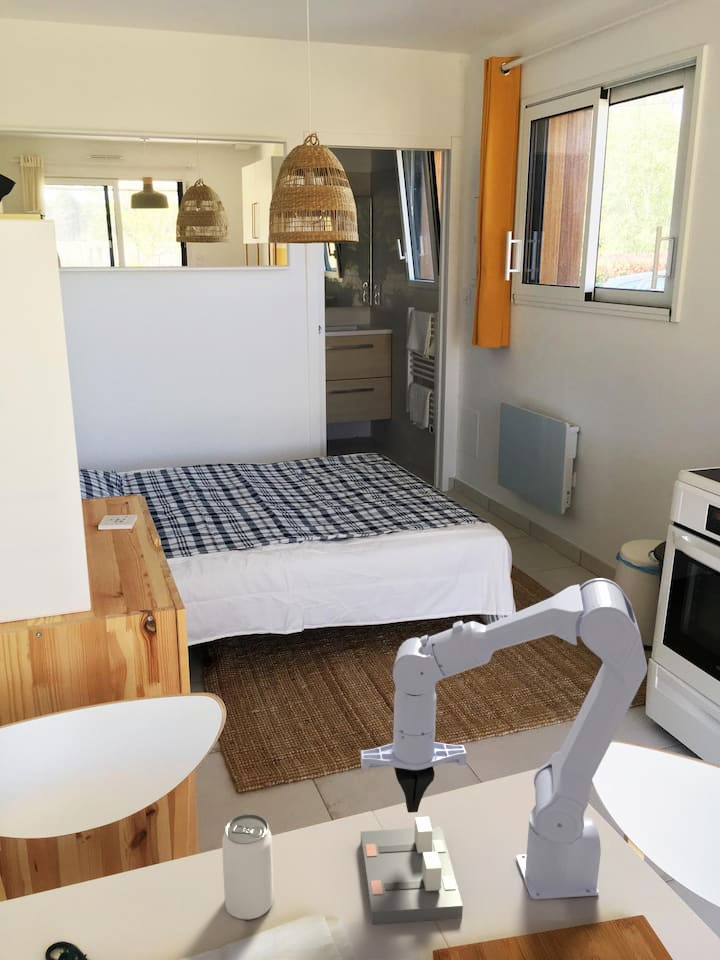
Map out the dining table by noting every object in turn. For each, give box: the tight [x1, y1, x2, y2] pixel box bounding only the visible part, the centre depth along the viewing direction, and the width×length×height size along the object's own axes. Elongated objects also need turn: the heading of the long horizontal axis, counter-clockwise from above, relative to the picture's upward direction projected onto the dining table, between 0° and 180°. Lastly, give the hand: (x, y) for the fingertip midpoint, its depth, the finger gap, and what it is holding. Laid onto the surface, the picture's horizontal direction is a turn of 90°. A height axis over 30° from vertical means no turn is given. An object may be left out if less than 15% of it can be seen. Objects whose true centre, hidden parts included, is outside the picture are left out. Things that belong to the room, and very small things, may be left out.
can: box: [221, 813, 274, 921], centre depth 109 cm, size 6×6×12 cm
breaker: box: [422, 852, 442, 891], centre depth 110 cm, size 2×3×4 cm, turn 5°
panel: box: [360, 826, 464, 925], centre depth 115 cm, size 12×15×2 cm
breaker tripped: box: [414, 816, 432, 853], centre depth 117 cm, size 2×3×4 cm, turn 6°
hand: (411, 807), depth 116 cm, fingers closed
